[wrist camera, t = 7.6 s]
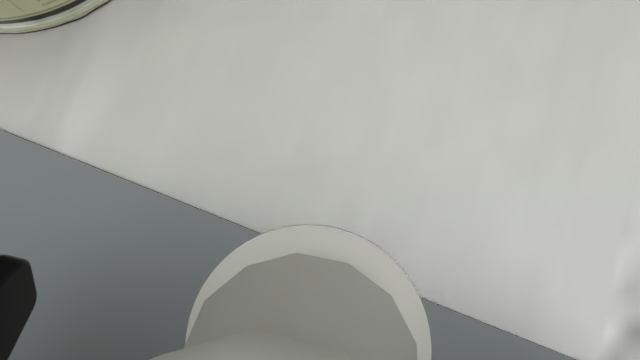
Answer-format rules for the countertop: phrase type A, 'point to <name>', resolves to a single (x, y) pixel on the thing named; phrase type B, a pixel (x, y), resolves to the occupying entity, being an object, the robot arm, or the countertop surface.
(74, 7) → the coffee can
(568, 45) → the countertop surface
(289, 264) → the salt shaker
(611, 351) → the countertop surface
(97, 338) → the mat
